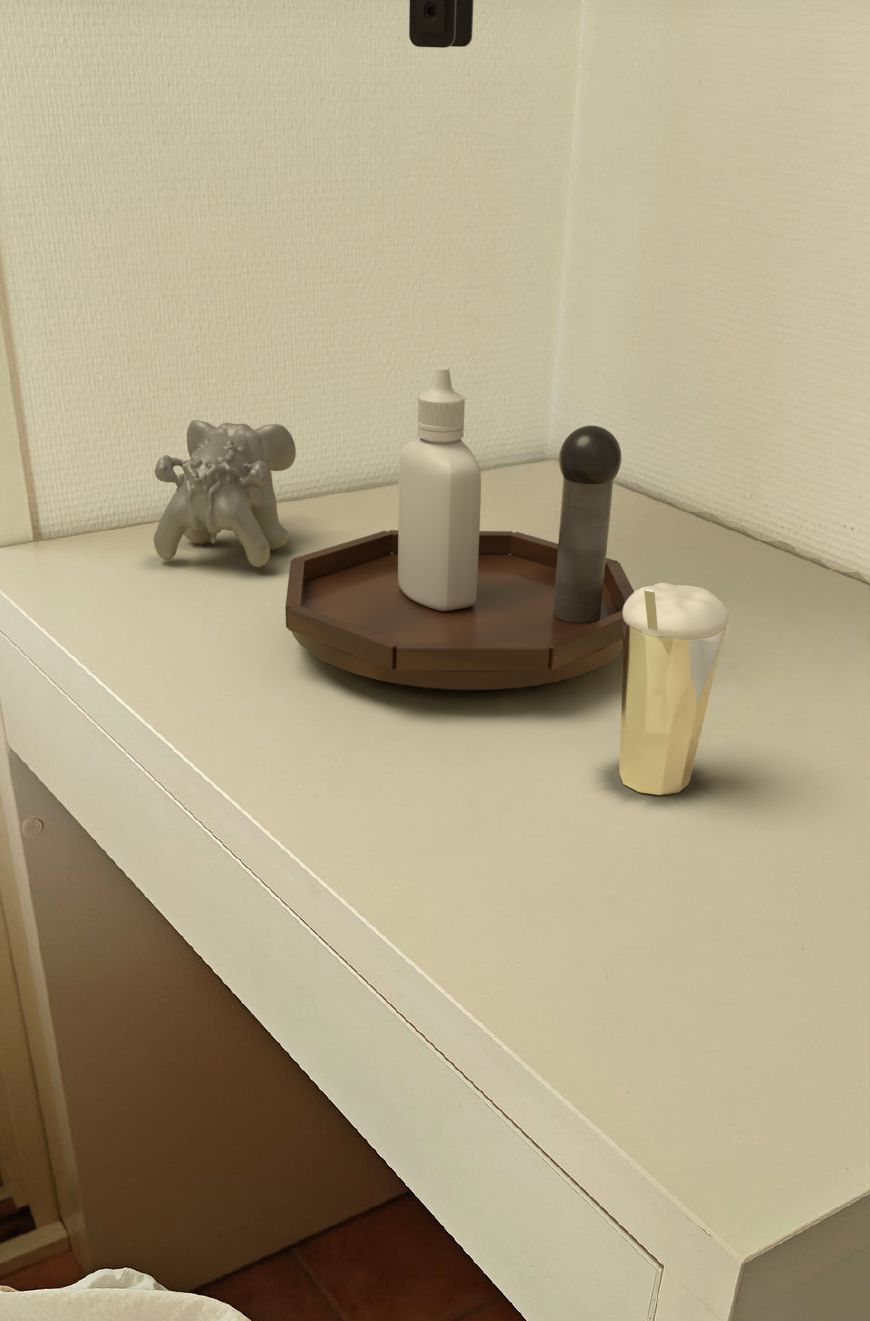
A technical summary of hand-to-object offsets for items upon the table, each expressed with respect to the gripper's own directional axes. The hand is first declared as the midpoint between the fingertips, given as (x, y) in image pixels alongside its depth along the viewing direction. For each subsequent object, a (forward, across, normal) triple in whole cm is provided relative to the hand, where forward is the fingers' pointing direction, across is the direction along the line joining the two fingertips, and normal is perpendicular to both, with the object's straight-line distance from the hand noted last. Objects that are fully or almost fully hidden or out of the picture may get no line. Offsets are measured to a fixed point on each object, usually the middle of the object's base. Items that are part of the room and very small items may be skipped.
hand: (442, 46), depth 70 cm
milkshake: (+28, -26, -14) cm, 41 cm away
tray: (+27, -11, -3) cm, 29 cm away
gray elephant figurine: (+28, +4, +14) cm, 32 cm away
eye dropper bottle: (+26, -10, -2) cm, 28 cm away
